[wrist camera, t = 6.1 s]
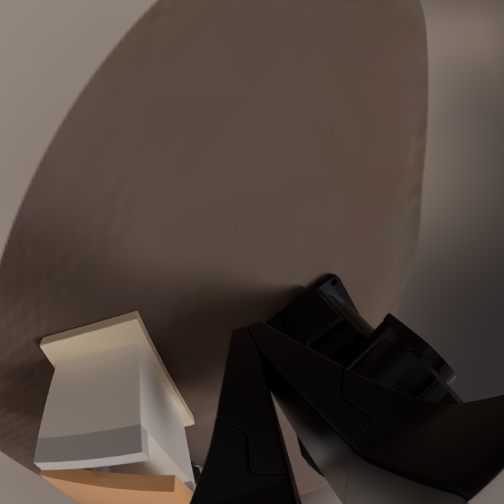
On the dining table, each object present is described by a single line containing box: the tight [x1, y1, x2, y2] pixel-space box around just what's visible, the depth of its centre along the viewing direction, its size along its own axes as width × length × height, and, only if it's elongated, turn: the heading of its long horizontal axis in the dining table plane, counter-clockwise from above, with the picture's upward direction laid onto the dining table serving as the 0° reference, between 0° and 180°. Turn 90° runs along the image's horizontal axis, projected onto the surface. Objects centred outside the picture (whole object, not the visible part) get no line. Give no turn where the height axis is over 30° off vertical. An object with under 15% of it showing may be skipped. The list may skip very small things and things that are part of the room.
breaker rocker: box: [40, 466, 194, 504], centre depth 13 cm, size 9×5×2 cm, turn 102°
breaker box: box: [34, 311, 196, 492], centre depth 17 cm, size 8×12×10 cm, turn 12°
